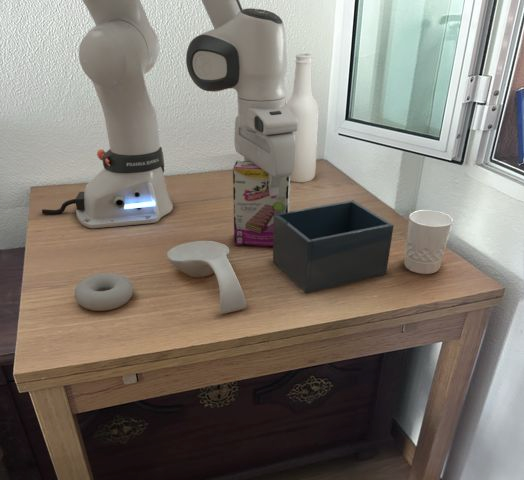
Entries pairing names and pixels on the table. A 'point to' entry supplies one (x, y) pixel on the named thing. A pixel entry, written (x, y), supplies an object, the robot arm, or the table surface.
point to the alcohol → (304, 121)
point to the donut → (103, 291)
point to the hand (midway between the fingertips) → (262, 187)
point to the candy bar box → (256, 204)
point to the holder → (331, 245)
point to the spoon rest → (210, 269)
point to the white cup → (426, 240)
